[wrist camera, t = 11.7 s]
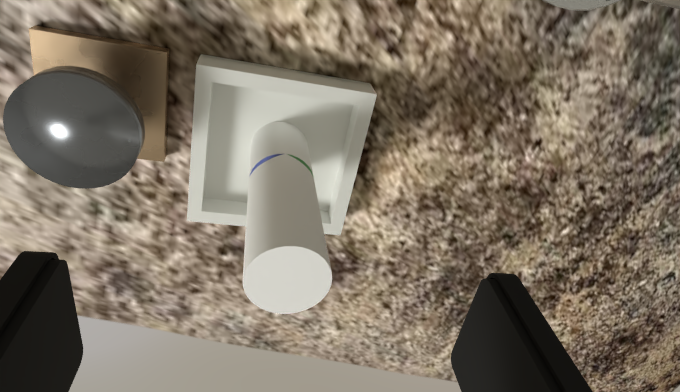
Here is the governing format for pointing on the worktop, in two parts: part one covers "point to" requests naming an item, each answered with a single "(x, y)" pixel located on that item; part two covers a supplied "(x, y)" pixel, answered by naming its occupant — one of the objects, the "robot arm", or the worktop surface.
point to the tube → (283, 224)
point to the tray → (263, 108)
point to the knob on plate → (89, 107)
